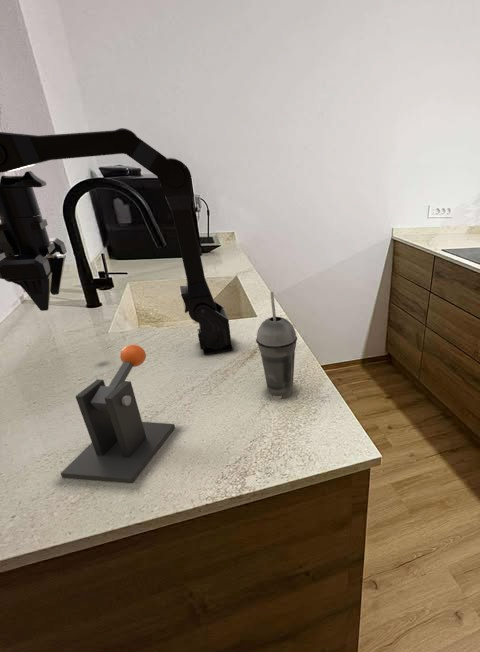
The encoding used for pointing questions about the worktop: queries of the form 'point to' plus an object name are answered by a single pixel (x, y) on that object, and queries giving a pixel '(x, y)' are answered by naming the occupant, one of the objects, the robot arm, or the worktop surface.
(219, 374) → the worktop surface
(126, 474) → the switch bracket
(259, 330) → the beverage cup
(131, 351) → the lever
